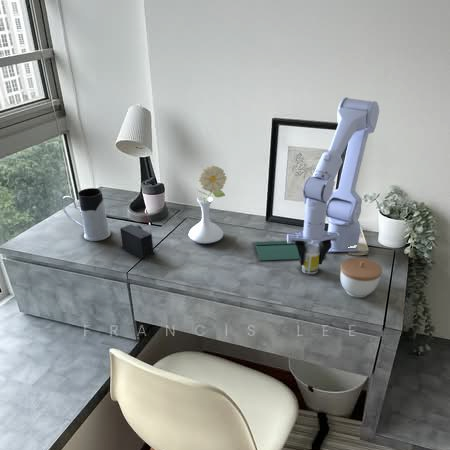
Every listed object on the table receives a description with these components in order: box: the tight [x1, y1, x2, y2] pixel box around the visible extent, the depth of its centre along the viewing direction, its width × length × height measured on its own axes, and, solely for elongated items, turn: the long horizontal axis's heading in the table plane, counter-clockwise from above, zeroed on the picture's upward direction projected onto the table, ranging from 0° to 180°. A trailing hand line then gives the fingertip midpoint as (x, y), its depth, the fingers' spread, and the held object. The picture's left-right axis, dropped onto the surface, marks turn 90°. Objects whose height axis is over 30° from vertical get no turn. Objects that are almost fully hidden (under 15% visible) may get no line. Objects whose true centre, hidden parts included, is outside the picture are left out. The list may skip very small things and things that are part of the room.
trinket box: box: [339, 256, 383, 298], centre depth 130 cm, size 11×11×9 cm
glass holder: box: [60, 187, 111, 242], centre depth 158 cm, size 9×14×15 cm, turn 89°
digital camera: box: [120, 223, 154, 259], centre depth 152 cm, size 10×5×7 cm, turn 47°
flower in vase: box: [188, 165, 228, 244], centre depth 152 cm, size 13×11×25 cm
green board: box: [254, 240, 308, 262], centre depth 152 cm, size 20×12×1 cm, turn 93°
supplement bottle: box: [301, 242, 320, 275], centre depth 140 cm, size 5×5×8 cm
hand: (310, 263), depth 141 cm, fingers closed on supplement bottle, 5 cm apart
